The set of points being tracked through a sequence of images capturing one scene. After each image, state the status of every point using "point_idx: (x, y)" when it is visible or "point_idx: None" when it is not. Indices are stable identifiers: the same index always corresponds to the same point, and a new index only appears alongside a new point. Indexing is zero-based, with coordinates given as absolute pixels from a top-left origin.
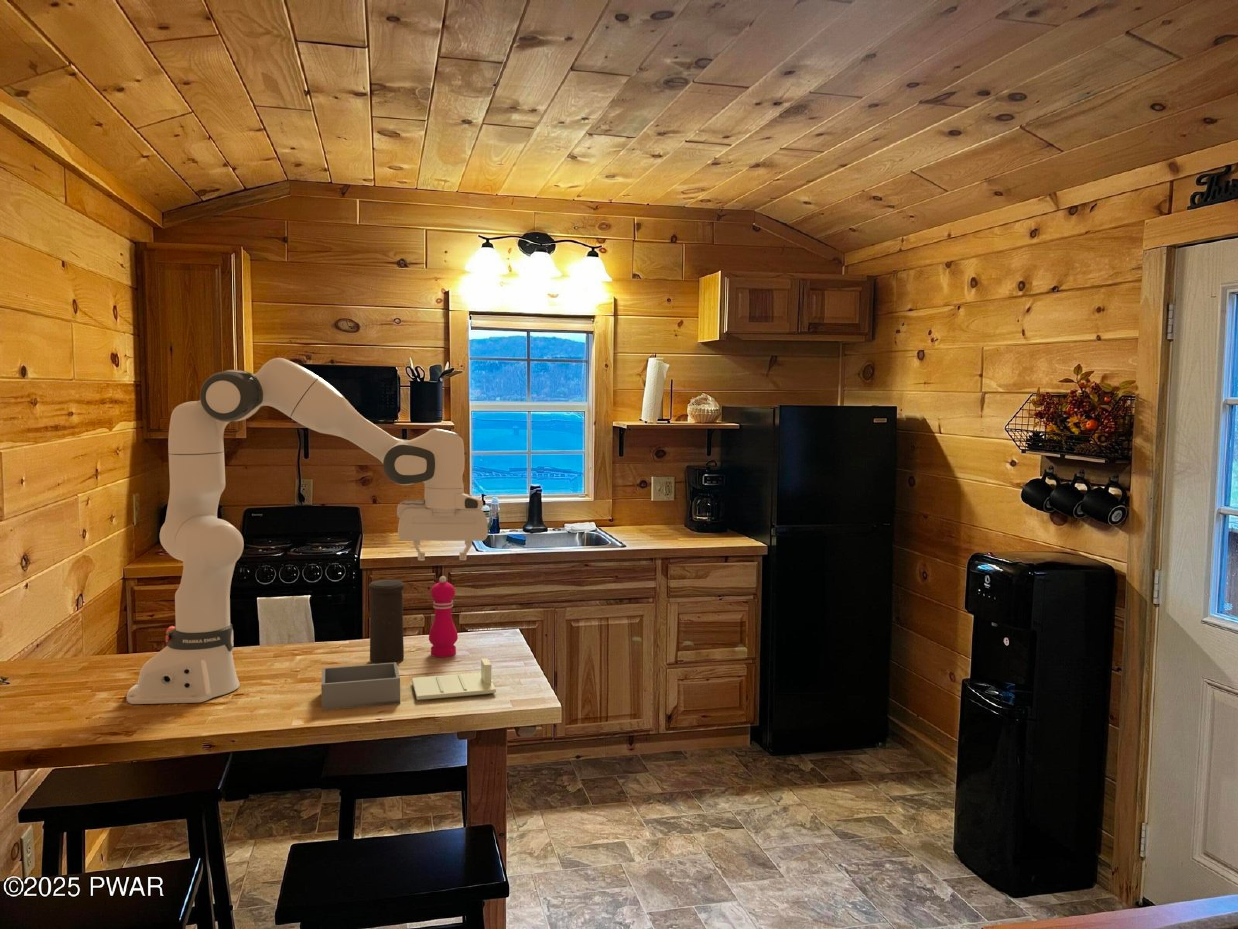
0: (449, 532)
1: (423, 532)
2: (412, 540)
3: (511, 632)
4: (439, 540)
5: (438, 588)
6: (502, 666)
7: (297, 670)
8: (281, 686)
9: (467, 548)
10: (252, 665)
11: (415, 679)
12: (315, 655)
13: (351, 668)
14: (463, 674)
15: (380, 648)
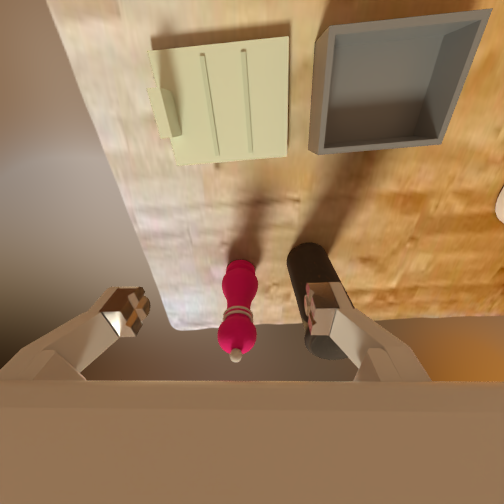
0: (94, 483)
1: (416, 491)
2: (463, 382)
3: (170, 323)
4: (224, 381)
5: (244, 334)
6: (163, 213)
7: (410, 241)
8: (452, 181)
9: (63, 332)
10: (449, 265)
11: (282, 146)
12: (376, 286)
13: (392, 142)
14: (211, 159)
15: (321, 254)
